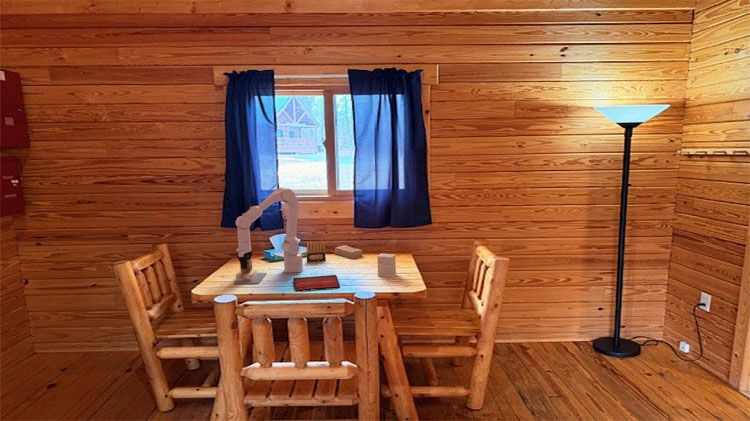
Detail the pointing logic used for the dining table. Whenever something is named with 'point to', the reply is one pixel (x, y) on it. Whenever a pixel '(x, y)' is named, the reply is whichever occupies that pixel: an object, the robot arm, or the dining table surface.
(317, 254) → the ammunition clip
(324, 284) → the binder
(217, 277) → the dining table surface
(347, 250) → the brick
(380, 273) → the small box
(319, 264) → the dining table surface
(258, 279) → the board
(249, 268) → the walnut block
